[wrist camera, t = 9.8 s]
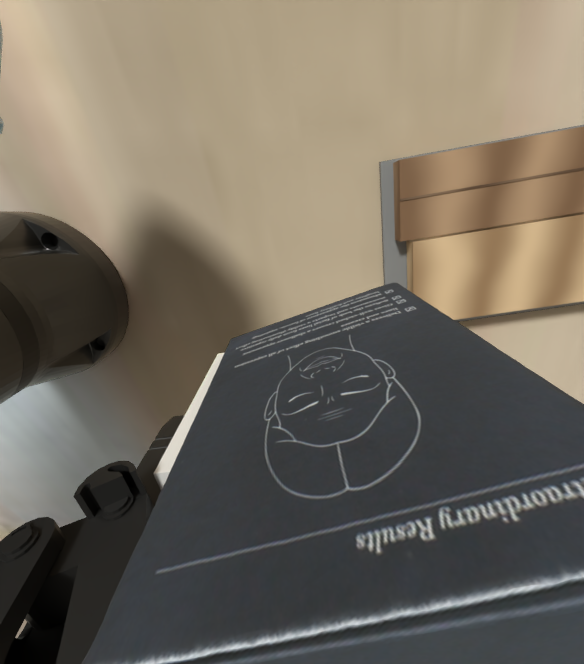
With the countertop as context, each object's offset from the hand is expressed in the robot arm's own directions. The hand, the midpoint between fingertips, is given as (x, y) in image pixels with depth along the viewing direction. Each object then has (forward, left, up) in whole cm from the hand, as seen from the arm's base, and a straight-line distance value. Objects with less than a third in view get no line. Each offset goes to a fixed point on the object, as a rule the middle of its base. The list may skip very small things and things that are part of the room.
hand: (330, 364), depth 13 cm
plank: (+21, -1, -15) cm, 26 cm away
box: (0, 0, -1) cm, 1 cm away
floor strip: (+21, +6, -15) cm, 27 cm away
